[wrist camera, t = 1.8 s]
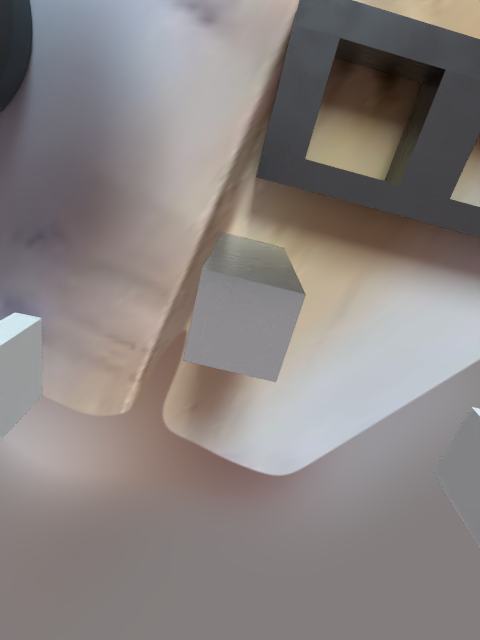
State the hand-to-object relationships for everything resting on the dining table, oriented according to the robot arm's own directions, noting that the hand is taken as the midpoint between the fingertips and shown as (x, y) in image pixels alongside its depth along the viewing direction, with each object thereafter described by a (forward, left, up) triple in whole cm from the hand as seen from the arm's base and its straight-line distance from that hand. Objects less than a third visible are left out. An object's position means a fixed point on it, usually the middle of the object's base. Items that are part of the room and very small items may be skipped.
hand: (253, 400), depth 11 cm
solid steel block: (0, -1, -19) cm, 19 cm away
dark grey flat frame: (+10, +11, -19) cm, 24 cm away
